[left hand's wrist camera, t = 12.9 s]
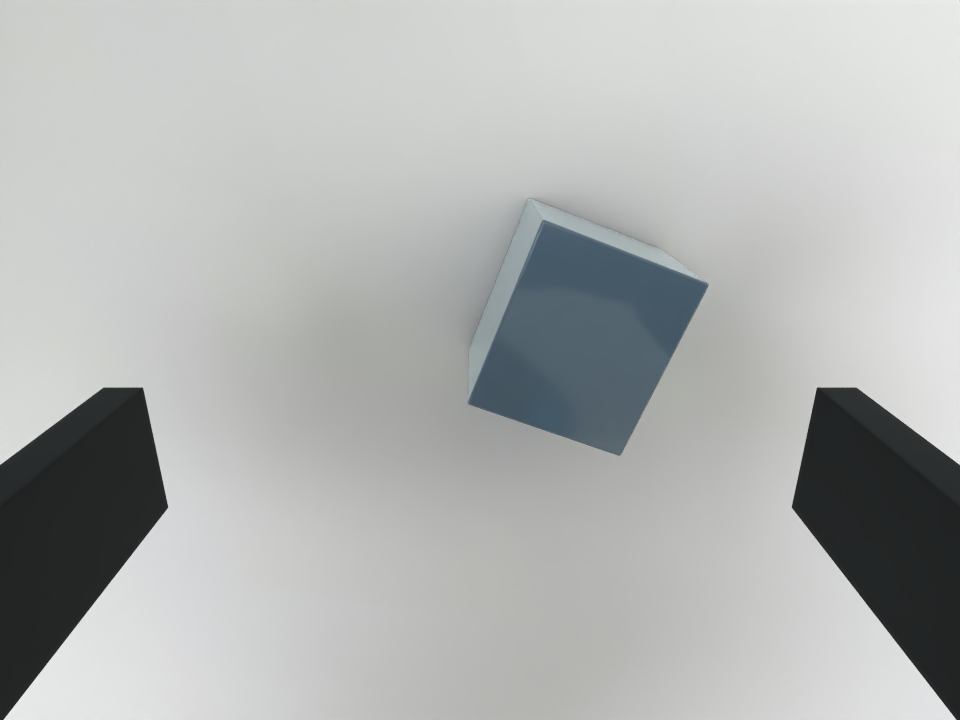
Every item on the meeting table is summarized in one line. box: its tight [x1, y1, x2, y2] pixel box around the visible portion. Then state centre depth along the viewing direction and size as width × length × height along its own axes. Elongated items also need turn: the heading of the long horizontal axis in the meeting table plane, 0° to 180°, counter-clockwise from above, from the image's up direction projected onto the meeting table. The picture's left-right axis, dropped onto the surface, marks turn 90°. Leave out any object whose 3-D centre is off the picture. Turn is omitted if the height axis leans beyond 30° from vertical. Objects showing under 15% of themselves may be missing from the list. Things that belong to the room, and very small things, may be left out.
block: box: [468, 198, 709, 456], centre depth 18 cm, size 5×4×4 cm
